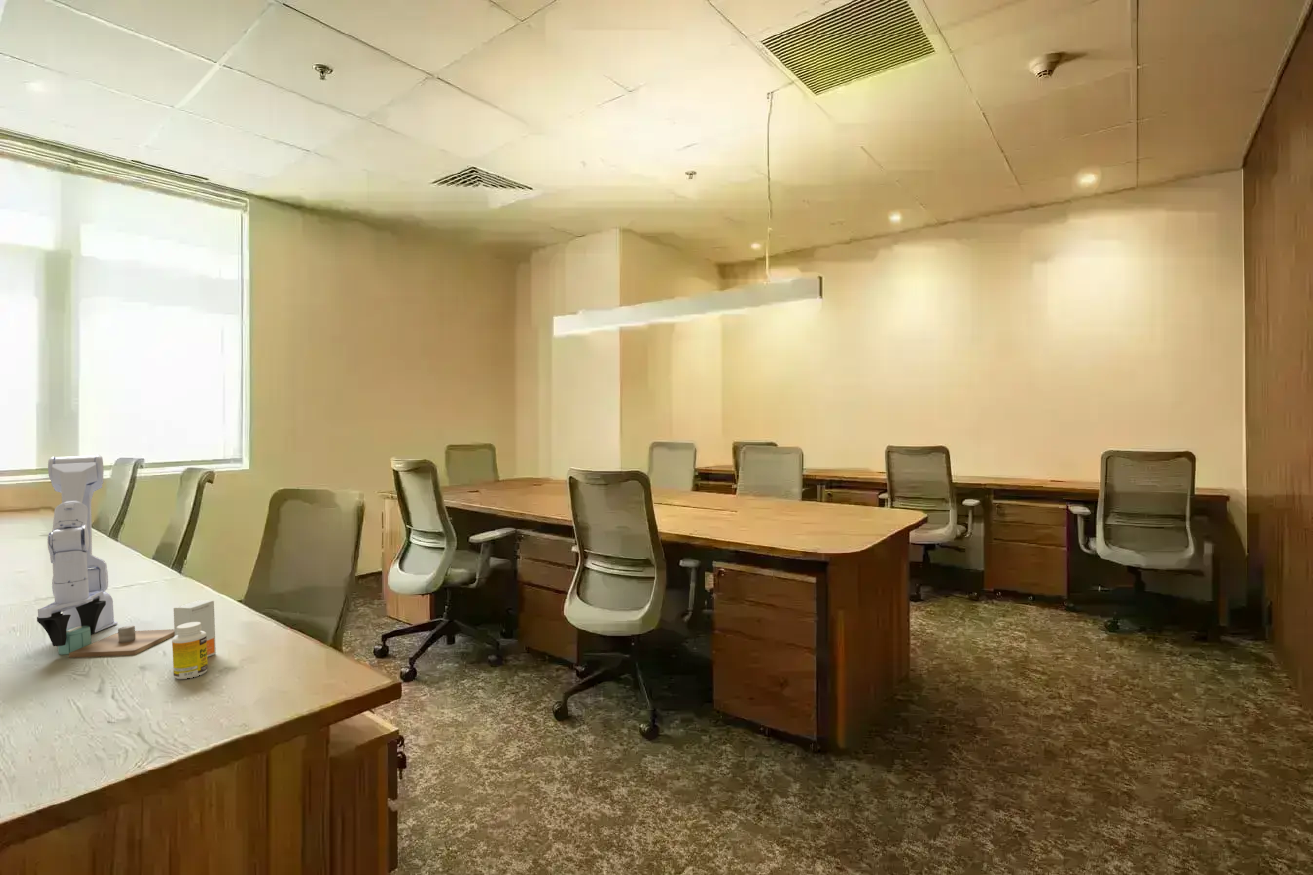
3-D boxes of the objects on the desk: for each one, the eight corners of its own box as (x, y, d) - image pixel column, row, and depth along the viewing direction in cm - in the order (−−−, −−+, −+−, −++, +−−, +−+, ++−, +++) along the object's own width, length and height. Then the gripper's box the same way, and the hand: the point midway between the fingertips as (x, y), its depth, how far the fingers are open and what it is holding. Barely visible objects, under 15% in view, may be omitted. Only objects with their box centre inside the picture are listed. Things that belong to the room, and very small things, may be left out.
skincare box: (191, 664, 131) (188, 608, 131) (175, 663, 132) (172, 607, 132) (217, 653, 137) (214, 600, 137) (201, 652, 138) (198, 599, 138)
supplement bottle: (205, 676, 125) (202, 626, 124) (170, 682, 122) (167, 631, 122) (210, 667, 130) (208, 618, 129) (177, 672, 127) (175, 623, 127)
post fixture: (120, 635, 151) (119, 619, 151) (180, 632, 152) (179, 616, 152) (69, 657, 137) (68, 639, 137) (134, 654, 138) (133, 636, 138)
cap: (73, 645, 145) (72, 625, 144) (97, 644, 145) (96, 624, 145) (51, 654, 139) (50, 633, 139) (76, 653, 139) (75, 632, 139)
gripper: (60, 588, 134) (63, 650, 135) (115, 571, 149) (118, 628, 149) (26, 589, 134) (29, 651, 135) (84, 573, 149) (88, 629, 149)
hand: (74, 639), depth 142 cm, fingers open, 7 cm apart
